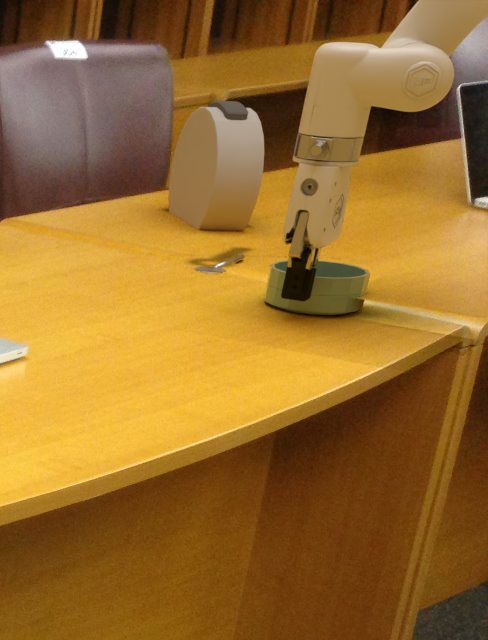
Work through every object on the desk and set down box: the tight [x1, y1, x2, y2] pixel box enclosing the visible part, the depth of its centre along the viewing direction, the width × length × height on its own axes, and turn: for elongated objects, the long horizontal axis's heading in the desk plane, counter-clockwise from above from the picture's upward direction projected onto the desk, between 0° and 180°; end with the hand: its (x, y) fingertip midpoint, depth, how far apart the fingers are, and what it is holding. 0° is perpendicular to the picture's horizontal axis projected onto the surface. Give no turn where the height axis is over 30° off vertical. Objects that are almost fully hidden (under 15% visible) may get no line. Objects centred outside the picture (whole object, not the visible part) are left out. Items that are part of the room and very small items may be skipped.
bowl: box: [263, 259, 371, 316], centre depth 203 cm, size 12×12×5 cm
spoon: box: [193, 253, 245, 274], centre depth 226 cm, size 16×4×1 cm, turn 141°
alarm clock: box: [167, 100, 265, 232], centre depth 252 cm, size 21×8×20 cm, turn 179°
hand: (295, 298), depth 197 cm, fingers closed
